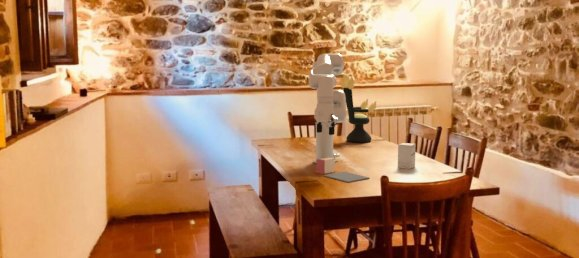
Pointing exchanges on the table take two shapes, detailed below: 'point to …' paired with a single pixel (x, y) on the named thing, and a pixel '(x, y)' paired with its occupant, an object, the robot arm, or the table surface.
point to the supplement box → (406, 155)
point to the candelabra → (357, 119)
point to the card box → (325, 165)
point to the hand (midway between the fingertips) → (325, 133)
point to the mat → (346, 177)
